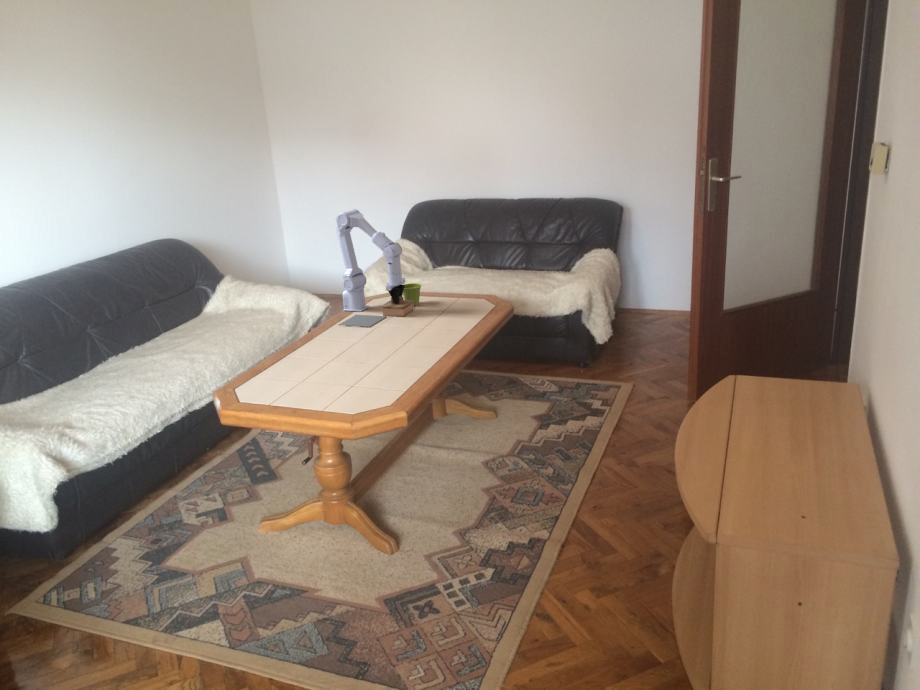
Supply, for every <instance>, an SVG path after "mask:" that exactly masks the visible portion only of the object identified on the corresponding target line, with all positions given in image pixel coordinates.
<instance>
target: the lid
mask: <svg viewBox="0 0 920 690" xmlns="http://www.w3.org/2000/svg"><path fill="white" fill-rule="evenodd" d="M414 302H415V301H414V300H405V299H404V296H402V297H399V303H398V304H394V303H393V300H392V297H391V296H390V300H388V301H387V302H385V303H383V304H381V305H380V309H382V308H389V309H405V308H406V307H408V306H410V305H411V304H413V303H414Z"/></svg>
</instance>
